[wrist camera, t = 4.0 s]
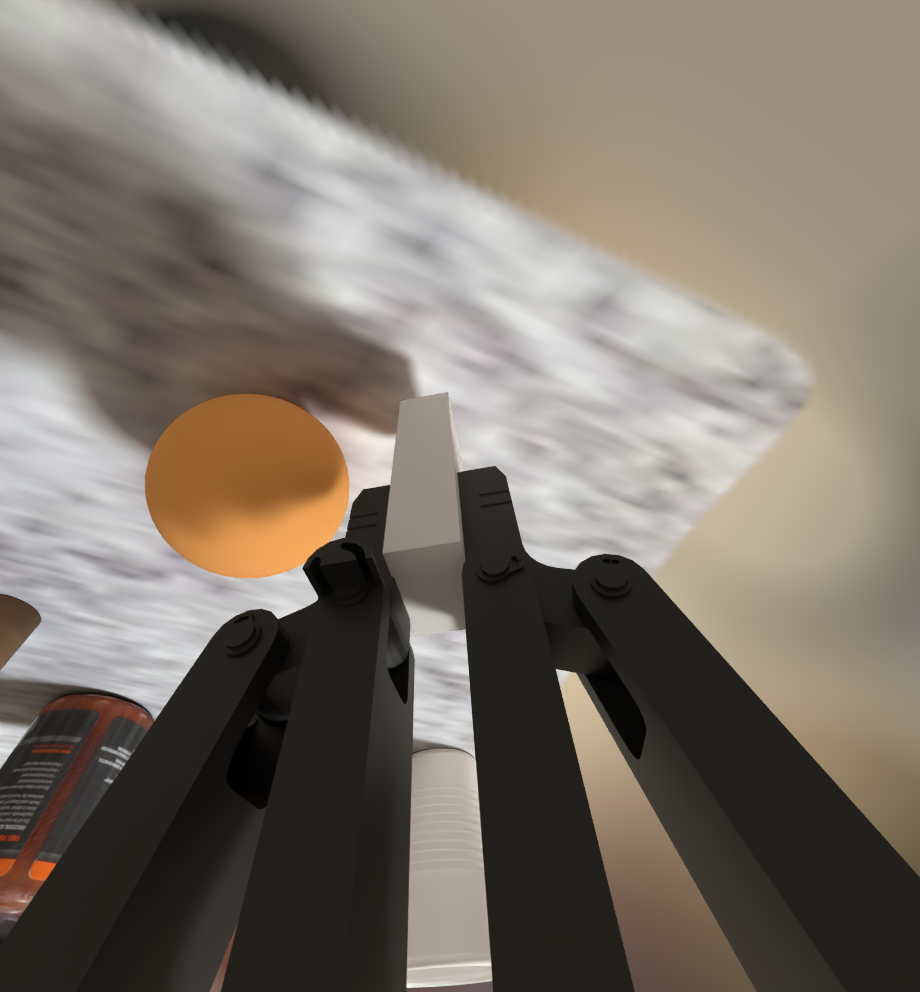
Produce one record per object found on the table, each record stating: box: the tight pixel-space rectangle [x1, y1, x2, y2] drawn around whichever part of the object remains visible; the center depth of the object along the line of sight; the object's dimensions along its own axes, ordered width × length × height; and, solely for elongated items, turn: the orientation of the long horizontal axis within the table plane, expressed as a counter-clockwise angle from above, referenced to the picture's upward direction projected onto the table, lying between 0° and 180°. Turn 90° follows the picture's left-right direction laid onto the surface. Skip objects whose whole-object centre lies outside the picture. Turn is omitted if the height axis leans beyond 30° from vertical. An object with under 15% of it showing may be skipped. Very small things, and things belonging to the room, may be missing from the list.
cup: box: [406, 748, 492, 988], centre depth 29 cm, size 10×10×11 cm
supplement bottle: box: [0, 694, 154, 945], centre depth 22 cm, size 6×6×11 cm
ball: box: [145, 394, 349, 578], centre depth 13 cm, size 6×6×6 cm
